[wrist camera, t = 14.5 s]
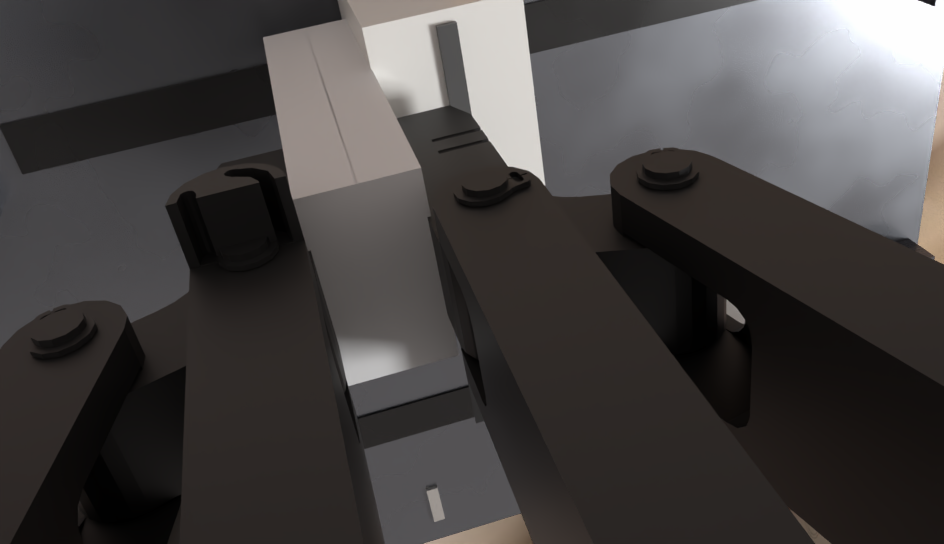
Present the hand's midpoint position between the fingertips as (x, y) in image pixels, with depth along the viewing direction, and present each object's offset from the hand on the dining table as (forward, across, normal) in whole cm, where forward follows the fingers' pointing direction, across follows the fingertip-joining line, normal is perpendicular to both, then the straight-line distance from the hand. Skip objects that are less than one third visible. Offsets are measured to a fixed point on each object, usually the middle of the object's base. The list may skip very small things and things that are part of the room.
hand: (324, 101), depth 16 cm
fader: (+1, +2, 0) cm, 2 cm away
